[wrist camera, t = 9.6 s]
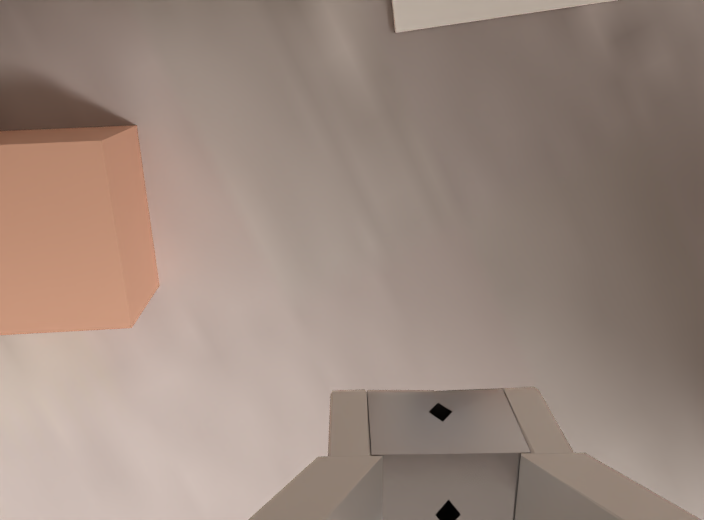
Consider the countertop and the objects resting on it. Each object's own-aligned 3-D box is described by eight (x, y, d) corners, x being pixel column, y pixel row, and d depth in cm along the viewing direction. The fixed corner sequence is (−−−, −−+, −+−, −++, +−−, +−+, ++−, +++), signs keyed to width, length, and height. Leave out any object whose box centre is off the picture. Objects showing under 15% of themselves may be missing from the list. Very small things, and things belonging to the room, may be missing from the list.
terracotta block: (138, 124, 22) (102, 140, 19) (160, 283, 24) (131, 327, 20) (-37, 131, 22) (-109, 149, 18) (0, 292, 24) (-59, 338, 20)
